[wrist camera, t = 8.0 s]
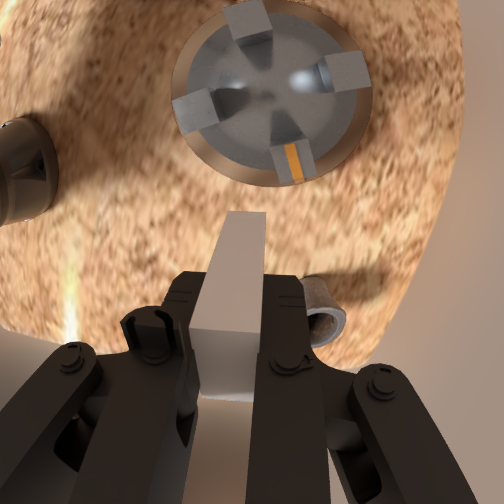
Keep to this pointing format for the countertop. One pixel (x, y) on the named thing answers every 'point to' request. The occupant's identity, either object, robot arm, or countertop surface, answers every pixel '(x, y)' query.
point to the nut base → (269, 177)
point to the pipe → (322, 312)
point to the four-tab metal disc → (271, 91)
